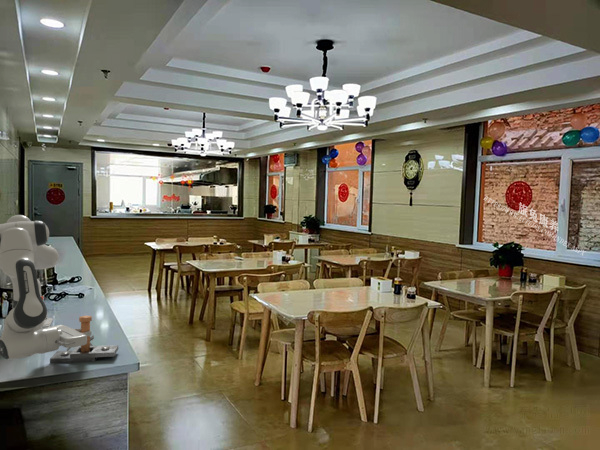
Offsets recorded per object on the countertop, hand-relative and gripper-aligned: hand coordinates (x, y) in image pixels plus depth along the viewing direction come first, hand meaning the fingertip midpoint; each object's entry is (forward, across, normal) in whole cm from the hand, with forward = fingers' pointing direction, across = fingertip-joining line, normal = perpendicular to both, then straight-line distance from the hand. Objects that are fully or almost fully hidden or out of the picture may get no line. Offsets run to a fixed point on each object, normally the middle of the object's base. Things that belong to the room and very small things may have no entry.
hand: (87, 331), depth 177 cm
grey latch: (-1, 0, +10) cm, 10 cm away
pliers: (+6, +18, +11) cm, 22 cm away
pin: (-1, 0, +8) cm, 8 cm away
